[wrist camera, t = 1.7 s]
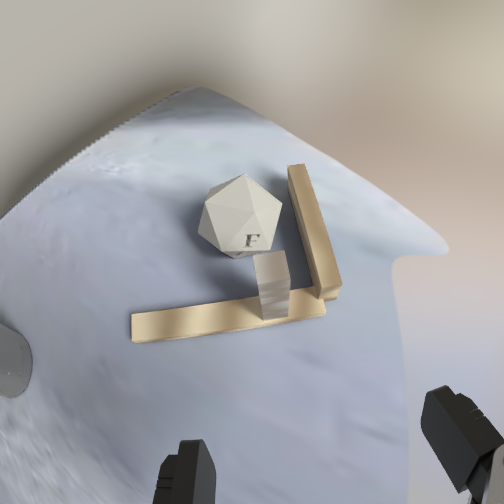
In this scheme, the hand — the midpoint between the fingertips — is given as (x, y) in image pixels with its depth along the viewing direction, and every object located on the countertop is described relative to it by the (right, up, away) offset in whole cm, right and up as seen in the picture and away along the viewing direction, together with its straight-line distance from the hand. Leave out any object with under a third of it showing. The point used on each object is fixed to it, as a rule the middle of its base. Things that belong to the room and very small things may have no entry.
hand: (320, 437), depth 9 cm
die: (-3, +8, +28) cm, 29 cm away
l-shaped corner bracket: (-5, +6, +26) cm, 27 cm away
